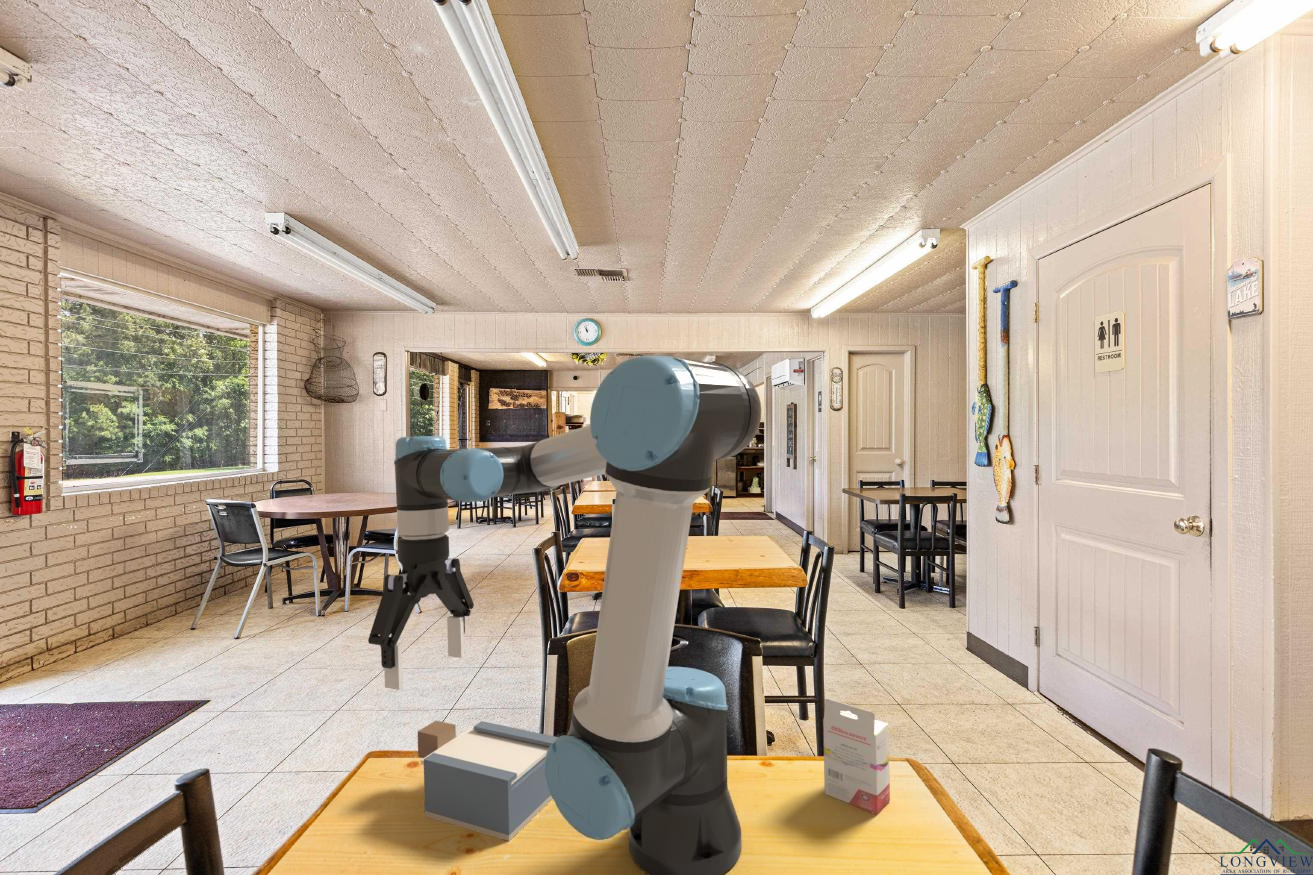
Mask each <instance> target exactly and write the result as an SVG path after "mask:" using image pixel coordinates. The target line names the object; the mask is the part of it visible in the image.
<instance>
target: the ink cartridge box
mask: <svg viewBox="0 0 1313 875" xmlns="http://www.w3.org/2000/svg"><path fill="white" fill-rule="evenodd" d="M823 714H824V716H823V720H822V722H823V723H822V724H823V725H822V726H823V764H824V766H823V771H824V772H823V773H824V774H823V776H824V777H823V778H824V780H823V782H824V786H823V787H824V793H825V795H828V796H830V797H833V798H835V799H837V800H840V801H843V802H845V803H847V804H850V805H851V806H854V807H856V808H857V807H858V808H859V809H861V810H864V811H867V812H870V813H872V814H874V815H878V814H879V813H880V812H881V811H882V810H883V809H884V808H885V807H886V805H888V803H889V802H890V801H891V790H890V788H891V784H890V774H891V773H890V746H889V744H890V742H889V741H890V738H889V737H890V736H889V723H888V722H884V721H881V720H878V719H877V720H876V715H875V713H874V712H873V711H871V710H866V709H863V708H860V707H857V706H854V705H851V704H847V703H844V702H840V701H838V700H834V699H830V698H828V697H827V698H825V699H824V713H823Z"/></svg>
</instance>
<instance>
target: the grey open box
mask: <svg viewBox="0 0 1313 875" xmlns="http://www.w3.org/2000/svg"><path fill="white" fill-rule="evenodd" d="M473 728H474V730H476V731H480V732H485V733H489V734H494V735H498V736H503V737H508V738H512V739H517V740H521V741H526V742H530V743H535V744H539V745H544V746H549V747H550V746H551V744H552V743H554V742H555V741H556V739H557V738H559V737H560V736H554V735H550V734H544V733H540V732H535V731H531V730H526V729H521V728H516V727H512V726H506V725H501V724H497V723H493V722H488V721H483V720H482V721H480V722H478V723H477V724H475V725H474V726H473ZM545 758H546V756H545V757H544V758H543V759H542V760H541V761H539V762H538V763H537V764H536V765H535V766H534V767H532V768H531V769H530V770H529V771H528V772H526V773H525V774H524V775H523V776H522V777H521V778H519V779H518V780H517V781H516V782H515V783H514V784H512V785H511V782H512V781H513V780H514V779H516V778H517V773H514V772H510V771H506V770H502V769H498V768H493V767H489V766H485V765H481V764H477V763H473V762H469V761H465V760H461V759H457V758H453V757H449V756H445V755H440V754H436V753H432V754H431V755H429V756H428V757H426V758H425V759H424V765H423V783H424V784H423V787H424V788H423V789H424V790H423V791H424V792H423V793H424V795H423V796H424V817H426V818H430V819H434V820H437V821H439V822H444V823H447V824H450V825H453V826H457V827H459V828H464V829H467V830H470V831H474V832H477V833H480V834H483V835H486V836H491V837H494V838H497V839H500V840H503V841H507V842H510V841H511V840H512V839H513V838H514V837H516V836H517V835H518V834H519V832H520V831H521V830H522V829H524V828H525V827H526V826H527V825H528V823H530V822H531V821H532V819H534V817H536V816H537V814H539V813H540V812H541V811H542V810H543V809H544V808H545V807H547V805H549V803H550V802H551V801H553V798H552V796H551V794H550V791H549V788H548V785H547V781H546V776H545Z"/></svg>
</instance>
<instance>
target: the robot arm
mask: <svg viewBox="0 0 1313 875" xmlns="http://www.w3.org/2000/svg"><path fill="white" fill-rule="evenodd" d="M595 391H596V392H595V394H594V396H593V400H592V403H591V407H590V408H591V409H590V414H589V424H588V425H586V426H583V427H580V428H579V427H578V428H576V429H573V430H569V431H567V432H563V433H561V434H557V435H554V436H551V437H548V438H544V439H541V440H539V441H535V442H532V443H530V444H526V445H518V446H506V447H505V446H501V447H498V446H497V447H480V448H478V447H472V448H468V447H466V448H451V449H450V448H447V441H446V438H445V437H443V436H442V435H441V436H440V435H437V436H436V435H430V436H429V435H427V436H403V437H400V438H398V439H396V442H395V453H394V454H395V456H394V457H395V458H394V460H393V464H394V473H395V474H394V475H395V479H394V480H395V497H396V498H395V500H396V526H397V527H396V528H397V530H396V531H397V535H399V538H398V540H397V560H398V562H399V563H400V565H401V566H402V570H401V573H400V574H389V573H388V574H386V575H385V577H384V581H383V582H384V584H383V585H384V586H383V592H382V595H381V599H380V602H379V605H378V608H377V611H376V614H375V617H374V621H373V624H372V627H371V630H370V633H369V635H368V644H370V645H375V646H376V645H377V646H380V653H381V654H380V655H381V656H380V657H381V663H380V665H381V667H382V668H383V669H384V670H383V671H384V688H386V689H391V690H395V691H396V690H397V691H401V690H402V689H404V681H403V680H404V677H403V674H404V673H403V672H404V671H403V644H402V643H398V641H399V640H400V637H401V635H402V633H403V631H404V629H405V627H406V625H407V623H408V620H409V619H410V617H411V614H412V612H413V611H414V608H415V606H417V604H418V603H419V602H421V599H422V598H427V597H428V596H429V595H436V597H437V598H438V599H439V600H440V602H441V603H442V604H443V605H444V607H445V608H446V610H447V611H448V612H449V613H450V615H449V616H447V617H446V622H447V624H446V628H447V656H448V657H453V658H458V659H463V658H464V657H465V633H466V625H465V624H466V620H465V619H466V618H465V617H469V616H471V613H472V612H471V610H472V609H473V608H474V606H475V605H474V601H473V599H472V598H473V597H472V596H471V594H470V591H469V588H468V586H467V584H466V581H465V579H464V576H463V574H462V572H461V562H460V561H461V560H460V559H459V558H453V557H450V537H449V536H448V535H447V534H446V533H447V532H448V531H449V530H450V526H449V525H450V524H449V519H450V518H449V503H448V502H449V501H459V502H461V503H466V504H467V503H477V502H486V501H489V500H490V499H491V498H496V497H501V496H502V497H503V496H509V495H515V494H517V495H518V494H526V493H527V494H528V493H541V492H547V491H550V490H554V489H556V488H557V489H558V487H560V485H565V484H569V483H574V482H578V481H582V480H585V479H589V478H595V477H597V476H603V475H605V477H606V478H607V480H608V481H609V482H610V483H611V484H612V486H613V487H614V489H615V500H614V507H613V515H612V521H611V528H610V536H609V543H608V549H607V557H606V564H605V573H604V578H603V579H604V580H603V586H602V593H601V601H600V606H599V607H600V608H599V614H598V620H597V621H598V622H597V629H596V637H595V643H594V651H593V658H592V665H591V671H590V679H589V685H588V686H586V687H585V688H583V689H582V690H580V691H579V692H578V694H577V695H576V696H575V699H574V701H573V707H572V713H571V714H572V715H571V720H570V727H569V730H568V732H567V734H565V735H564V734H563V735H560V736H558V737H559V738H557V739H556V741H555V742H554V743H552V744H551V746H550V747H549V749H548V751H547V754H546V758H545V776H546V781H547V785H548V788H549V791H550V794H551V796H552V798H553V799H552V801H554V803H555V806H556V808H557V810H558V812H559V813H560V814H561V816H562V817H563V818H564V819H565V821H567V823H568V825H570V826H571V827H572V828H573V829H574V830H575V831H576V832H578V833H579V834H581V835H582V836H584V837H586V838H588V839H592V840H596V841H604V840H608V839H611V838H613V837H615V836H616V835H619V833H621V832H622V831H626V830H628V849H629V853H630V856H631V859H632V860H633V862H635V864H636V865H637V866H638V867H639V868H640V869H641V870H643V871H644V872H645V873H647V874H648V875H723V874H726V873H727V872H729V870H730V869H732V868H733V867H734V866H735V865H736V863H737V862H738V861H739V858H741V857H740V856H741V855H742V854H741V853H742V846H743V845H742V841H743V840H742V827H741V823H740V820H739V817H738V815H737V811H736V808H735V805H734V802H733V800H732V797H731V795H730V794H731V793H730V792H729V788H728V786H729V785H728V722H727V721H728V720H727V719H728V715H727V714H728V710H729V707H728V705H727V697H726V696H727V695H726V687H725V685H724V683H723V681H721V680H720V678H719V677H718V676H716V675H714V674H712V673H710V672H708V671H704V670H701V669H697V668H692V667H683V666H669V662H670V661H669V660H670V654H671V648H672V641H673V635H674V629H675V622H676V616H677V609H678V602H679V597H680V592H681V591H680V590H681V586H682V585H681V584H682V578H683V571H684V566H685V558H686V554H687V552H686V551H687V546H688V539H689V534H690V527H691V521H692V515H693V507H694V503H695V502H696V501H697V500H698V499H700V497H702V496H704V495H705V494H707V493H708V492H709V491H710V489H711V482H712V477H713V471H714V465H715V462H716V461H720V460H726V459H728V458H731V457H734V456H736V455H737V454H739V453H740V452H741V453H742V451H743V450H745V448H747V446H748V445H750V444H751V442H752V441H753V440H754V438H755V437H756V434H757V433H758V430H759V427H760V425H761V419H762V404H761V398H760V396H759V394H758V392H757V389H756V388H755V385H754V384H753V382H752V381H751V380H750V379H749V378H748V377H747V376H746V374H744V373H743V372H742V371H740V370H739V369H737V368H735V367H734V366H732V365H728V364H726V363H722V362H714V361H713V362H711V361H709V362H708V361H703V360H695V359H687V358H681V357H676V356H675V357H674V356H673V355H672V356H671V355H659V354H657V355H641V356H634V357H632V358H628V359H625V360H623V361H622V362H621V363H619V364H618V365H617V366H616V367H615V368H614V369H612V370H611V371H610V372H608V373H607V375H606V376H605V377H604V378H603V380H602V381H601V383H600V385H598V388H597V390H595ZM400 536H401V537H400Z"/></svg>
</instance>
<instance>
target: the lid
mask: <svg viewBox="0 0 1313 875" xmlns="http://www.w3.org/2000/svg"><path fill="white" fill-rule="evenodd" d="M456 727H457V726H456V724H453V723H449V722H444V721H441V720H440V721H439V720H434V721H433V722H431V723H429V724H428V725H425V726H424V727H423V728H421V729H419V730H417V757H418V758H422V759H420V764H421V765H423V766H424V759H425V758H426V757H428V756H429V755H431V754H432V753H436V754H440V755H445V756H449V757H453V758H457V759H461V760H465V761H469V762H473V763H477V764H481V765H485V766H489V767H493V768H498V769H502V770H506V771H510V772H514V773H517V778H516V779H514V780H513V781H512V782H511V785H512V784H514V783H515V782H516V781H517V780H518V779H519V778H521V777H522V776H523V775H524V774H525V773H526V772H528V771H529V770H530V769H531V768H532V767H534V766H535V765H536V764H537V763H538V762H539V761H541V760H542V759H543V758H544V757H545V756H546V754H547V751H548V749H549V746H544V745H539V744H535V743H530V742H526V741H521V740H517V739H512V738H508V737H503V736H498V735H494V734H489V733H485V732H480V731H476V730H474V727H469V728H468V729H466V730H465V731H463V732H462V733H460V734H458V735H457V736H456V734H457V733H456V731H457V730H456Z"/></svg>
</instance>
